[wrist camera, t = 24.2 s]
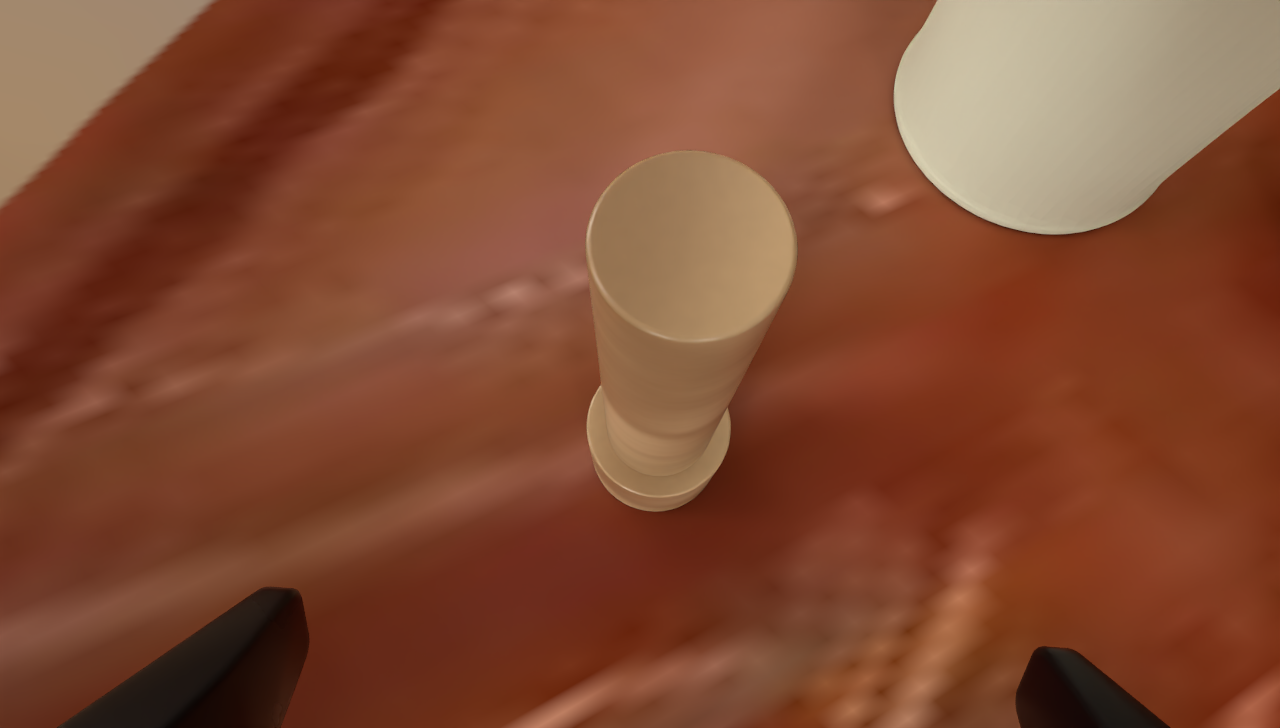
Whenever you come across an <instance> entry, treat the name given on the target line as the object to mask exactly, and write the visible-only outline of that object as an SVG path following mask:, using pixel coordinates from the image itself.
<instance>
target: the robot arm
mask: <svg viewBox="0 0 1280 728" xmlns="http://www.w3.org/2000/svg"><path fill="white" fill-rule="evenodd" d="M308 648H309V633H308V627H307V622H306V617H305V612H304V606H303V601H302V597H301V594H300V593H299V591H298V590H296V589H293V588H281V587H264V588H261V589H259V590H257V591H256V592H254V593H253V594H251V595H250V596H248V597H247V598H246V599H244V600H243V601H241V602H240V603H238V604H237V605H235V606H234V607H232V608H231V609H229V610H228V611H227V612H225V613H224V614H222V615H221V616H219V617H218V618H216V619H215V620H213V621H212V622H210V623H209V624H208V625H206V626H205V627H203V628H202V629H200V630H199V631H197V632H196V633H194V634H193V635H191V636H190V637H189V638H187V639H186V640H184V641H183V642H181V643H180V644H178V645H177V646H175V647H174V648H172V649H171V650H170V651H168V652H167V653H165V654H164V655H162V656H161V657H159V658H158V659H156V660H155V661H153V662H152V663H151V664H149V665H148V666H146V667H145V668H143V669H142V670H140V671H139V672H137V673H136V674H134V675H133V676H132V677H130V678H129V679H127V680H126V681H124V682H123V683H121V684H120V685H118V686H117V687H115V688H114V689H113V690H111V691H110V692H108V693H107V694H105V695H104V696H102V697H101V698H99V699H98V700H96V701H95V702H94V703H92V704H91V705H89V706H88V707H86V708H85V709H83V710H82V711H80V712H79V713H77V714H76V715H74V716H73V717H72V718H70V719H69V720H67V721H66V722H64V723H63V724H61V725H60V726H58V727H57V728H281V725H282V723H283V720H284V717H285V714H286V712H287V709H288V706H289V703H290V701H291V698H292V695H293V692H294V690H295V687H296V684H297V681H298V679H299V676H300V673H301V670H302V668H303V665H304V662H305V659H306V656H307V653H308ZM1016 711H1017V716H1018V719H1019V723H1020V727H1021V728H1170V727H1169V726H1168V725H1167V724H1165V723H1164V722H1163V721H1162V720H1161V719H1159V718H1158V717H1157V716H1156V715H1154V714H1153V713H1152V712H1151V711H1150V710H1148V709H1147V708H1146V707H1145V706H1144V705H1142V704H1141V703H1140V702H1139V701H1137V700H1136V699H1135V698H1134V697H1133V696H1131V695H1130V694H1129V693H1128V692H1126V691H1125V690H1124V689H1123V688H1122V687H1120V686H1119V685H1118V684H1117V683H1115V682H1114V681H1113V680H1112V679H1111V678H1109V677H1108V676H1107V675H1106V674H1104V673H1103V672H1102V671H1101V670H1100V669H1098V668H1097V667H1096V666H1095V665H1093V664H1092V663H1091V662H1090V661H1089V660H1087V659H1086V658H1085V657H1084V656H1082V655H1081V654H1080V653H1078V652H1077V651H1075V650H1073V649H1069V648H1060V647H1047V646H1042V647H1038V648H1037V649H1036V650H1035V651H1034V652H1033V654H1032V656H1031V658H1030V661H1029V663H1028V665H1027V668H1026V670H1025V672H1024V675H1023V677H1022V679H1021V682H1020V684H1019V686H1018V689H1017V692H1016Z"/></svg>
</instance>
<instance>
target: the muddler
mask: <svg viewBox="0 0 1280 728" xmlns="http://www.w3.org/2000/svg"><path fill="white" fill-rule="evenodd" d="M585 248H586V261H587V269H588V277H589V286H590V294H591V302H592V311H593V319H594V327H595V336H596V344H597V352H598V361H599V369H600V377H601V385H600V387H599V388H598V390H597V391H596V393H595V395H594V397H593V399H592V402H591V404H590V407H589V411H588V416H587V437H588V443H589V447H590V451H591V455H592V459H593V463H594V466H595V470H596V472H597V474H598V477H599V479H600V480H601V482H602V483H603V485H604V486H605V487H606V489H607V490H608V491H609V492H610V493H611V494H612V495H613V496H614V497H615V498H617V499H618V500H620V501H621V502H623V503H625V504H627V505H628V506H631V507H633V508H636V509H640V510H645V511H655V512H656V511H666V510H671V509H674V508H677V507H680V506H682V505H684V504H686V503H688V502H689V501H691V500H692V499H694V498H695V497H696V496H697V495H698V494H699V493H700V492H701V491H702V490H703V489H704V488H705V487H706V485H707V484H708V482H709V481H710V479H711V478H712V476H713V475H714V474H715V472H716V471H717V469H718V468H719V466H720V465H721V463H722V461H723V459H724V457H725V455H726V453H727V449H728V446H729V442H730V436H731V422H730V415H729V411H728V405H729V403H730V402H731V400H732V398H733V396H734V394H735V392H736V390H737V388H738V386H739V384H740V382H741V380H742V378H743V376H744V375H745V373H746V371H747V369H748V367H749V365H750V363H751V361H752V359H753V357H754V355H755V353H756V351H757V350H758V348H759V346H760V344H761V342H762V340H763V338H764V336H765V334H766V332H767V330H768V328H769V326H770V324H771V323H772V321H773V319H774V317H775V315H776V313H777V311H778V309H779V307H780V305H781V303H782V301H783V299H784V298H785V296H786V294H787V292H788V289H789V287H790V285H791V283H792V280H793V277H794V274H795V270H796V265H797V258H798V244H797V236H796V231H795V227H794V224H793V220H792V218H791V216H790V213H789V211H788V209H787V207H786V205H785V203H784V202H783V200H782V199H781V197H780V195H779V194H778V193H777V192H776V190H775V189H774V188H773V187H772V186H771V185H770V184H769V183H768V182H767V181H766V180H765V179H764V178H763V177H762V176H761V175H759V174H758V173H757V172H755V171H754V170H753V169H751V168H749V167H748V166H746V165H744V164H742V163H741V162H738V161H736V160H734V159H731V158H729V157H726V156H722V155H719V154H716V153H710V152H705V151H692V150H687V151H674V152H668V153H663V154H659V155H656V156H652V157H650V158H647V159H645V160H642V161H640V162H638V163H637V164H635V165H633V166H631V167H630V168H628V169H627V170H625V171H624V172H623V173H621V174H620V175H619V176H618V177H617V178H616V179H615V180H614V181H613V182H612V183H611V184H610V185H609V186H608V187H607V188H606V189H605V191H604V192H603V193H602V194H601V196H600V197H599V199H598V201H597V203H596V204H595V206H594V208H593V211H592V213H591V216H590V218H589V222H588V226H587V230H586V241H585Z"/></svg>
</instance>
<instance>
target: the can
mask: <svg viewBox="0 0 1280 728" xmlns="http://www.w3.org/2000/svg"><path fill="white" fill-rule="evenodd" d="M1278 89H1280V0H937V2H936V4H935V6H934V7H933V9H932V11H931V13H930V15H929V17H928V19H927V20H926V22H925V24H924V25H923V27H922V29H921V30H920V31H919V32H918V33H917V35H916V36H915V37H914V38H913V40H912V41H911V43H910V44H909V46H908V47H907V49H906V51H905V53H904V55H903V57H902V59H901V62H900V64H899V67H898V70H897V74H896V79H895V85H894V109H895V115H896V121H897V125H898V128H899V131H900V134H901V136H902V139H903V141H904V143H905V146H906V148H907V150H908V151H909V153H910V155H911V156H912V158H913V160H914V161H915V163H916V164H917V166H918V167H919V168H920V169H921V171H922V172H923V173H924V175H925V176H926V177H927V178H928V179H929V180H930V181H931V182H932V183H933V184H934V185H935V186H936V187H937V188H938V189H939V190H940V191H941V192H942V193H944V194H945V195H946V196H947V197H949V198H950V199H951V200H953V201H954V202H956V203H957V204H958V205H960V206H961V207H963V208H964V209H966V210H968V211H970V212H971V213H973V214H975V215H977V216H979V217H981V218H983V219H985V220H988V221H990V222H993V223H996V224H998V225H1001V226H1004V227H1008V228H1012V229H1016V230H1020V231H1024V232H1030V233H1038V234H1071V233H1079V232H1085V231H1089V230H1093V229H1096V228H1099V227H1103V226H1106V225H1108V224H1111V223H1113V222H1115V221H1117V220H1119V219H1121V218H1123V217H1125V216H1127V215H1128V214H1130V213H1131V212H1133V211H1134V210H1135V209H1137V208H1138V207H1139V206H1140V205H1142V204H1143V203H1144V202H1145V201H1146V200H1147V199H1148V198H1149V197H1150V196H1151V195H1152V194H1153V193H1154V192H1155V190H1156V189H1157V188H1158V186H1159V185H1160V184H1161V183H1162V182H1163V181H1164V180H1165V179H1167V178H1168V177H1169V176H1170V175H1171V174H1173V173H1174V172H1175V171H1176V170H1177V169H1179V168H1180V167H1181V166H1182V165H1184V164H1185V163H1186V162H1187V161H1189V160H1190V159H1191V158H1192V157H1194V156H1195V155H1196V154H1197V153H1199V152H1200V151H1201V150H1202V149H1203V148H1205V147H1206V146H1207V145H1208V144H1210V143H1211V142H1212V141H1213V140H1215V139H1216V138H1217V137H1218V136H1220V135H1221V134H1222V133H1223V132H1225V131H1226V130H1227V129H1228V128H1230V127H1231V126H1232V125H1233V124H1235V123H1236V122H1237V121H1239V120H1240V119H1241V118H1242V117H1244V116H1245V115H1246V114H1248V113H1249V112H1250V111H1251V110H1253V109H1254V108H1255V107H1257V106H1258V105H1259V104H1260V103H1262V102H1263V101H1264V100H1266V99H1267V98H1268V97H1269V96H1271V95H1272V94H1273V93H1275V92H1276V91H1277V90H1278Z"/></svg>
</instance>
